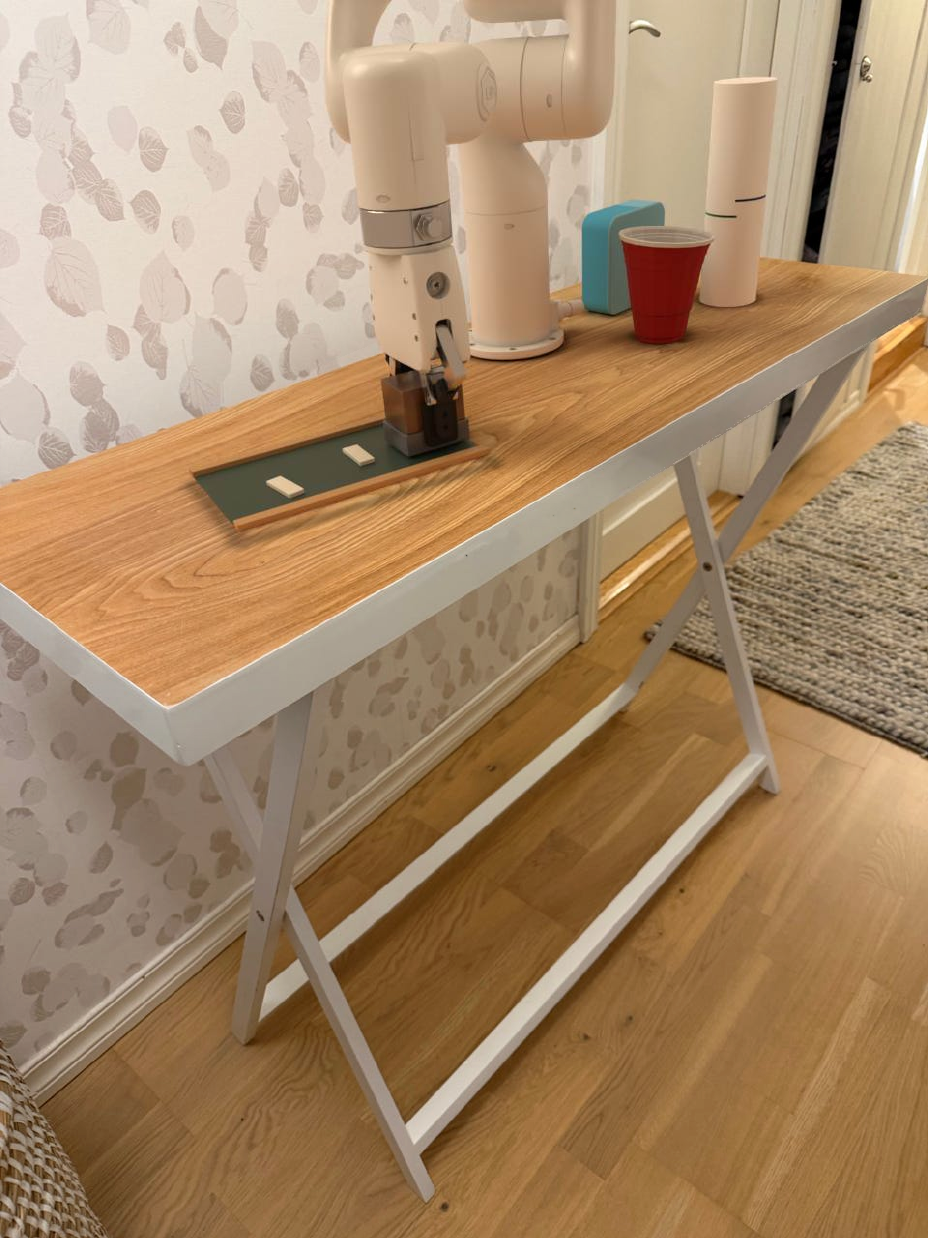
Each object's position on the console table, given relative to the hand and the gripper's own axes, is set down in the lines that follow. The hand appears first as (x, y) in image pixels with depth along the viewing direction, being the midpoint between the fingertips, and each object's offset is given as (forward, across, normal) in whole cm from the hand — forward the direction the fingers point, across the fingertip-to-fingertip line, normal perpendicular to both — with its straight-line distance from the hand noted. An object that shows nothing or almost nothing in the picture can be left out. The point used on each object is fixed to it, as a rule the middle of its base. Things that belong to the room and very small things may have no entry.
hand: (427, 431), depth 87 cm
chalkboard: (+2, +1, +9) cm, 9 cm away
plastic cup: (+2, +12, -38) cm, 40 cm away
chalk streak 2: (+1, +1, +7) cm, 7 cm away
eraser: (+1, 0, 0) cm, 1 cm away
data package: (+2, +26, -43) cm, 51 cm away
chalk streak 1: (+1, -1, +15) cm, 15 cm away
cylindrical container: (+2, +18, -54) cm, 57 cm away
